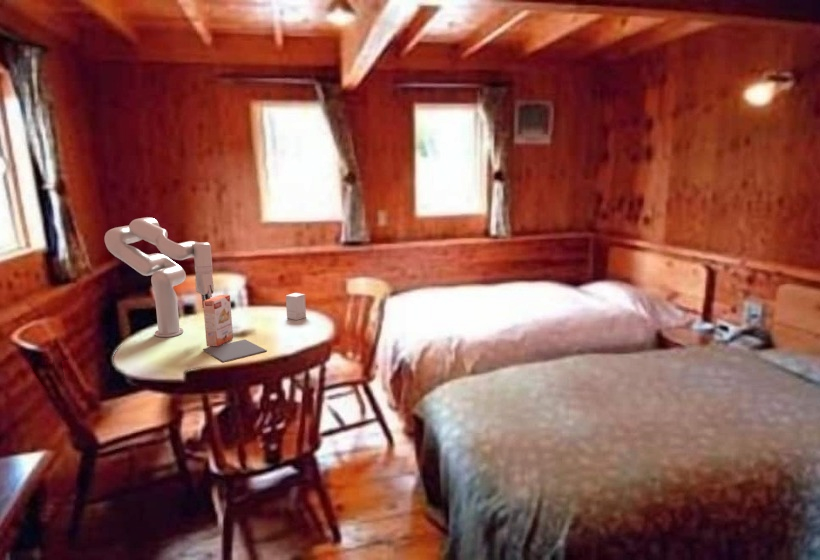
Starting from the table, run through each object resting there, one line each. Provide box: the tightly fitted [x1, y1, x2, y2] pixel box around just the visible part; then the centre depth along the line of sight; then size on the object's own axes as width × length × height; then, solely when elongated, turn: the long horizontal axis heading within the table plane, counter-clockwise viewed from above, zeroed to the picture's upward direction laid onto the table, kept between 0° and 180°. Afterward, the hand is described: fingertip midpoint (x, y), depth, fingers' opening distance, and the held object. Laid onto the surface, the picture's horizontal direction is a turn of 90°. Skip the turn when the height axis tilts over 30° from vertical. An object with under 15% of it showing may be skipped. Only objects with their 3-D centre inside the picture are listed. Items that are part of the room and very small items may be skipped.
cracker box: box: [202, 294, 234, 347], centre depth 254 cm, size 14×6×21 cm, turn 168°
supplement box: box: [285, 292, 307, 321], centre depth 296 cm, size 7×7×13 cm
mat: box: [202, 339, 268, 363], centre depth 246 cm, size 20×20×1 cm
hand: (206, 307), depth 262 cm, fingers closed
